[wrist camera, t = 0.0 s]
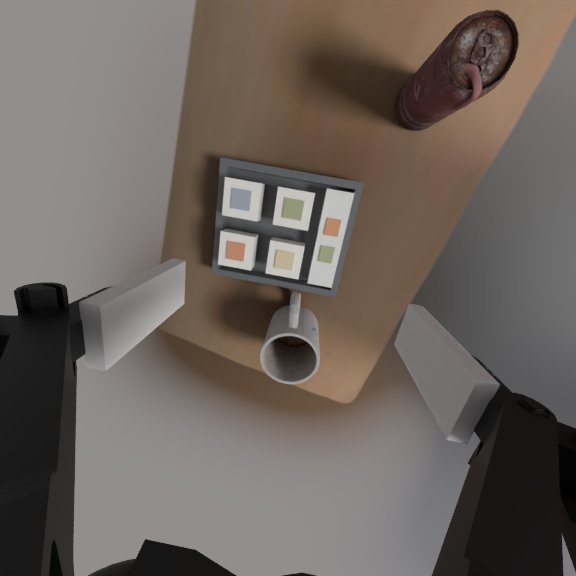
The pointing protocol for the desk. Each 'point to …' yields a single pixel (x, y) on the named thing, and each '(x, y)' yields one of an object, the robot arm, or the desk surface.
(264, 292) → the desk surface
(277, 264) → the key sand
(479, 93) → the can
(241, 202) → the key slate
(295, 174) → the keypad
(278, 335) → the mug
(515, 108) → the desk surface
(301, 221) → the key olive
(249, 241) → the key rust
